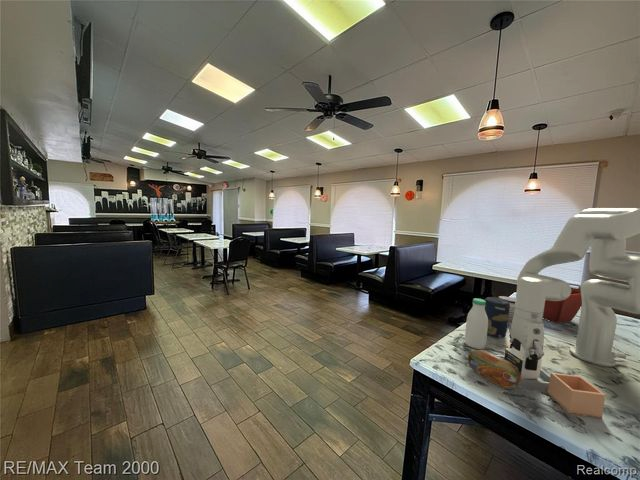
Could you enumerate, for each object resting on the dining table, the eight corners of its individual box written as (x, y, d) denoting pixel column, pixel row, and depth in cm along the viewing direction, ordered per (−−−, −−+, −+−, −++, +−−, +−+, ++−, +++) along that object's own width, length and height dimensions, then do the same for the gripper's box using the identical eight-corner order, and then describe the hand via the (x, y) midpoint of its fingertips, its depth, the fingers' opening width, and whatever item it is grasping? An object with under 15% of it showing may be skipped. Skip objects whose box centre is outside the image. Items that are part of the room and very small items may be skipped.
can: (492, 317, 135) (494, 296, 134) (504, 314, 140) (506, 293, 139) (515, 326, 125) (518, 303, 124) (527, 322, 130) (530, 300, 128)
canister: (501, 332, 118) (505, 295, 116) (509, 341, 109) (514, 302, 107) (478, 328, 121) (482, 293, 119) (484, 337, 112) (488, 299, 110)
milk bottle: (488, 350, 101) (494, 304, 99) (468, 348, 102) (473, 302, 100) (480, 341, 108) (485, 297, 106) (461, 339, 110) (465, 295, 108)
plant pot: (519, 312, 143) (523, 284, 142) (541, 309, 149) (545, 282, 147) (559, 327, 125) (564, 295, 123) (583, 323, 131) (587, 292, 129)
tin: (466, 368, 89) (468, 346, 88) (470, 365, 90) (473, 344, 90) (516, 395, 76) (519, 369, 75) (520, 391, 78) (523, 366, 77)
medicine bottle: (502, 366, 89) (506, 335, 88) (521, 365, 90) (524, 334, 89) (520, 379, 82) (524, 345, 81) (539, 378, 83) (544, 345, 81)
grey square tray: (529, 365, 92) (530, 358, 92) (559, 392, 78) (560, 384, 78) (487, 360, 94) (488, 354, 94) (509, 385, 80) (510, 378, 80)
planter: (577, 397, 76) (580, 376, 75) (601, 418, 68) (605, 395, 67) (547, 393, 77) (550, 372, 76) (568, 413, 69) (572, 390, 69)
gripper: (561, 326, 74) (553, 379, 76) (524, 305, 92) (518, 349, 93) (533, 324, 76) (526, 376, 78) (501, 303, 93) (496, 347, 95)
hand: (522, 361), depth 86 cm, fingers closed on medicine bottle, 8 cm apart
